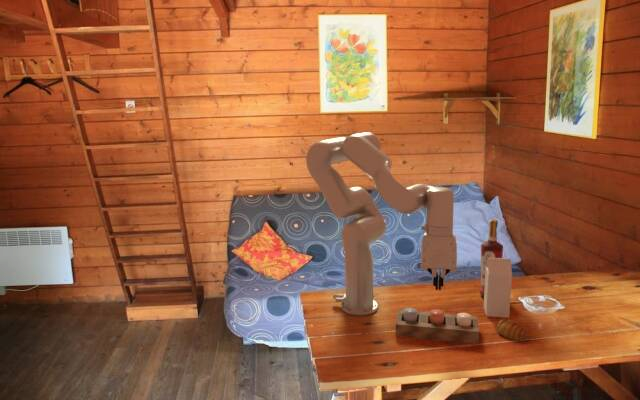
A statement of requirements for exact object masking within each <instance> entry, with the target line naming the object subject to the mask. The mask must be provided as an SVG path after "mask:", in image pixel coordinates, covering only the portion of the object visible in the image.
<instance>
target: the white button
mask: <svg viewBox="0 0 640 400" xmlns="http://www.w3.org/2000/svg"><path fill="white" fill-rule="evenodd" d="M456 314H457V326H464V327H471V318H472V316H473V315H471V314H470V313H467V312H459V313H456Z"/></svg>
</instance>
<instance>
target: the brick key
mask: <svg viewBox="0 0 640 400" xmlns="http://www.w3.org/2000/svg"><path fill="white" fill-rule="evenodd" d="M429 312H430V324H441V325H444V313H445V311H443V310H441V309H436V308H435V309H431V310H430V311H429Z"/></svg>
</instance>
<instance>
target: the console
mask: <svg viewBox="0 0 640 400" xmlns="http://www.w3.org/2000/svg"><path fill="white" fill-rule="evenodd" d="M403 312H404V309H398V311H397V317H396V321H395V337H399V336H402V338H410V339H421V340H430V341H441V342H442V341H443V342H450V343H451V342H453V343H461V344H462V343H464V344H473V345H474V344H475V345H479V340H480V339H479V338H480V329H479V322H478V316H477V315H471V316H472V318H471V327H464V326H457V314H458V313H456V314H455V313H445V312H444V325H441V324H430V311H424V310H423V311H422V310H421V311H419V310H417V322H408V321H403Z"/></svg>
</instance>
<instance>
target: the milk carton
mask: <svg viewBox="0 0 640 400" xmlns="http://www.w3.org/2000/svg"><path fill="white" fill-rule="evenodd" d="M512 278H513V271H512V258H503V257H502V258H488V261H487V264H486V270H485V288H484V296H483V310H484V312H485V315H486V317H493V318H495V317H496V318H497V317H498V318H505V319H507V318H510V313H511V312H510V311H511V310H510V309H511V298H512V297H511V295H512V280H513V279H512Z"/></svg>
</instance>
